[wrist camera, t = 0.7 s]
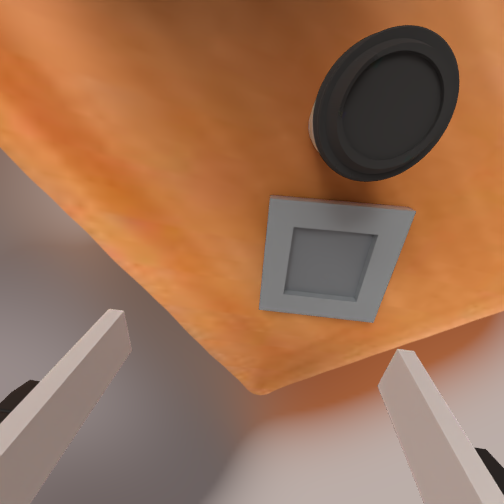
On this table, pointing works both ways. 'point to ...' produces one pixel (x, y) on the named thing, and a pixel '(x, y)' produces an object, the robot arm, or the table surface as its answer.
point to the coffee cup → (385, 103)
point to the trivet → (330, 256)
